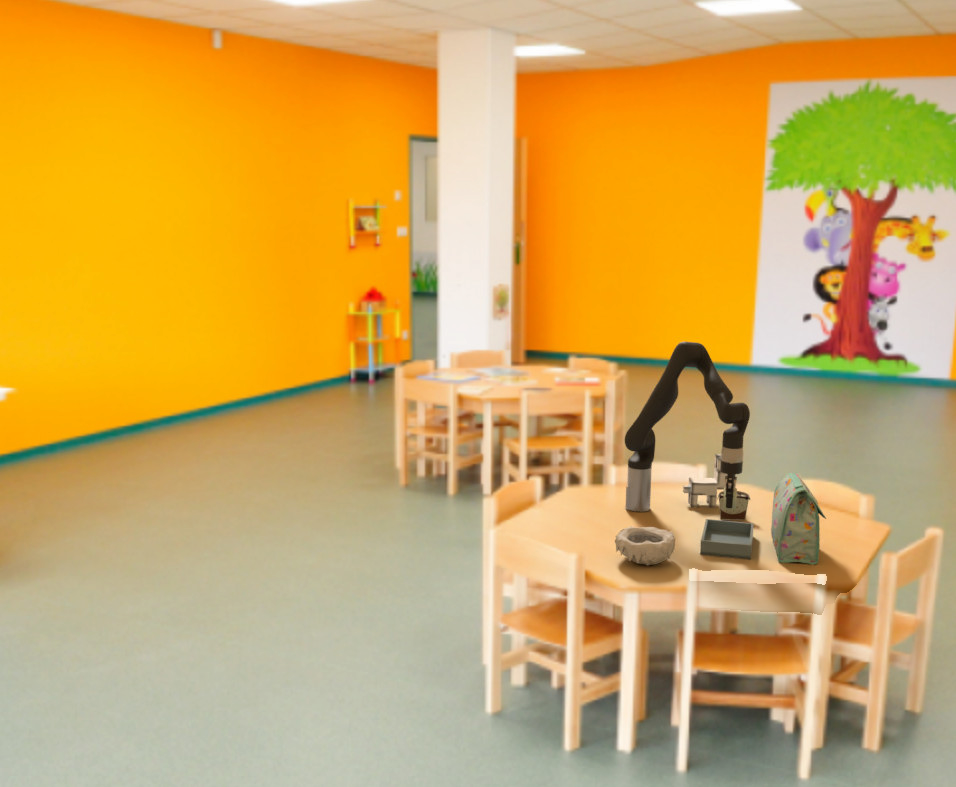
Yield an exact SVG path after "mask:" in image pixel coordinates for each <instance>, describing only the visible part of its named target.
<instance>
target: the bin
mask: <svg viewBox="0 0 956 787" xmlns="http://www.w3.org/2000/svg"><path fill="white" fill-rule="evenodd" d="M753 539H754V523H753V522H745V521H744V522H742V521H741V522H740V521H735V520H724V519H712V518H711V519H710V518H705V522H704V526H703V530H702V535H701V538H700V549H699V551H700V553H699V554H700V555H705V556H711V557H713V556H714V557H723V558H730V559H731V558H732V559H733V558H734V559H741V560H743V559H744V560H752V550H753V549H752V548H753Z"/></svg>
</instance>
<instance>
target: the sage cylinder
mask: <svg viewBox="0 0 956 787" xmlns="http://www.w3.org/2000/svg"><path fill="white" fill-rule="evenodd" d="M723 491H724V500H723V508H724V509H728V510H733V509H736V497H737V491H738V488H737V487H736V488H735V491H734V492H733V496H734V497H733V505H732V508H726V496H725V495H726V491H725V488H724V490H723ZM728 494H732V493H730V492H728Z"/></svg>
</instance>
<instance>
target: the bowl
mask: <svg viewBox="0 0 956 787" xmlns="http://www.w3.org/2000/svg"><path fill="white" fill-rule="evenodd" d="M614 543H615V552H618V551H619V552H620V556H622V555H623V556H624V557H626V558H627V560H628V561H629V562H630V561H632V562H634V563H636V564H639V565H646V566H647V567H648V566H650V565H658V564H660V563H662V562H664V561H666V560H670V559H671V557H672V554H673V553H674V550H676V549H675V547H676V538H675V534H674V532H673V531H668V530H667V529H660V528H658V527H656V526H655V527H654V526H648V527H647V526H645V527H642V526H639V527H634V526H629V527H625V528H623V529H621V530H619V532H618V533H617V534H616V535H615V539H614Z"/></svg>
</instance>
